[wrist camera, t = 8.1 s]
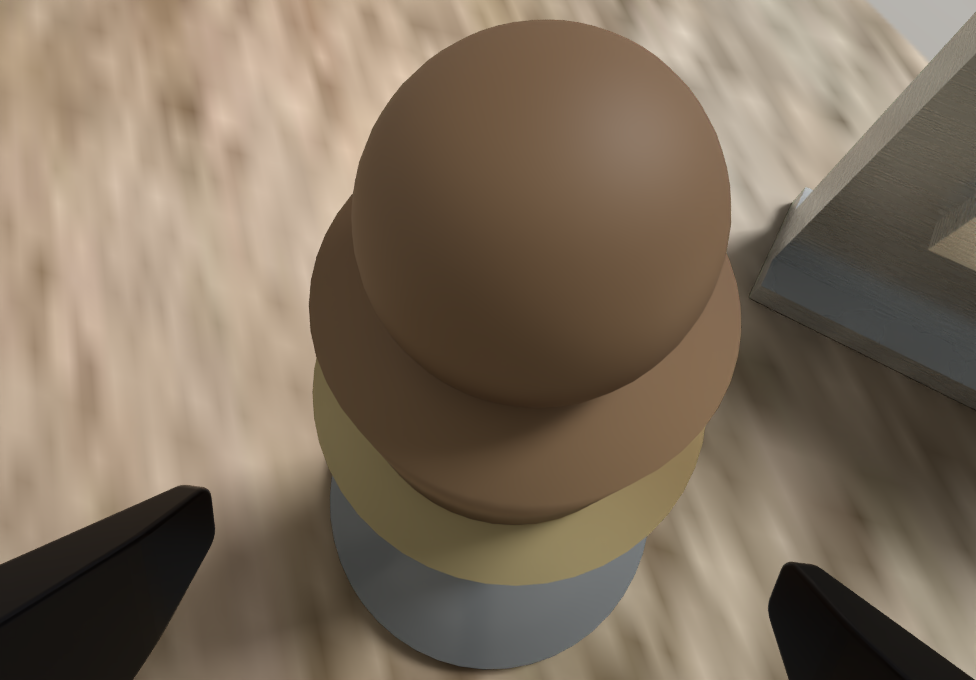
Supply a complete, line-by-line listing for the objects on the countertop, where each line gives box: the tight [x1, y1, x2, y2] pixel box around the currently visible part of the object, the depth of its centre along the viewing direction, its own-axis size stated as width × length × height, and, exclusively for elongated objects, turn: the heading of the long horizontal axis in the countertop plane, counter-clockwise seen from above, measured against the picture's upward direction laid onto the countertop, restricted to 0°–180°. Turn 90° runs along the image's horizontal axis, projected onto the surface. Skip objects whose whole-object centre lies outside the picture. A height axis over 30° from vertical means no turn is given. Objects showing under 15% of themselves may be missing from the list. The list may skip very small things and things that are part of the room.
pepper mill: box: [309, 20, 741, 586], centre depth 10 cm, size 5×5×16 cm
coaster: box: [330, 475, 647, 669], centre depth 18 cm, size 11×11×1 cm
